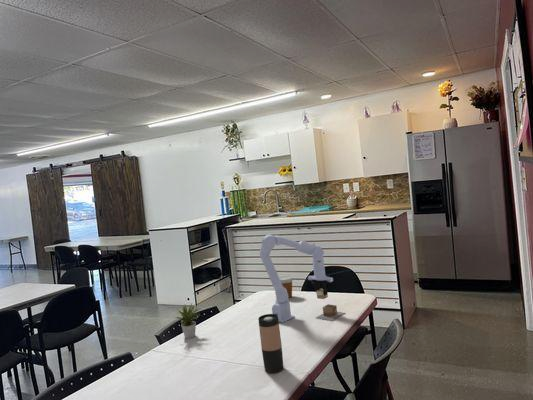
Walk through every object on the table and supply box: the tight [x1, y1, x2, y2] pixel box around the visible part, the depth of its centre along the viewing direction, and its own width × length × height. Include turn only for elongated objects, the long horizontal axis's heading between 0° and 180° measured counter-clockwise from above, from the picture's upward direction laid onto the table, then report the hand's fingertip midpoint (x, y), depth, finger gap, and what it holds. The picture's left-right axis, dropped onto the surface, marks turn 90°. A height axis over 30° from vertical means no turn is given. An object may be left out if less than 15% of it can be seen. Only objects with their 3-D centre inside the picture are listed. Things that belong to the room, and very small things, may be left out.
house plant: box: [175, 303, 202, 339], centre depth 193 cm, size 14×14×16 cm
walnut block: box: [322, 304, 338, 317], centre depth 200 cm, size 5×5×4 cm
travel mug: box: [257, 313, 284, 375], centre depth 148 cm, size 8×8×20 cm
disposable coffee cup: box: [279, 275, 293, 299], centre depth 243 cm, size 10×10×12 cm
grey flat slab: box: [315, 311, 346, 322], centre depth 200 cm, size 12×10×1 cm
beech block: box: [315, 288, 329, 300], centre depth 205 cm, size 4×4×4 cm
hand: (322, 294), depth 205 cm, fingers closed on beech block, 4 cm apart
